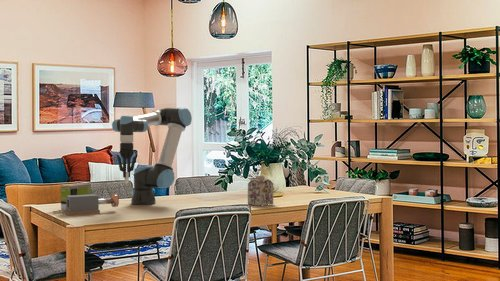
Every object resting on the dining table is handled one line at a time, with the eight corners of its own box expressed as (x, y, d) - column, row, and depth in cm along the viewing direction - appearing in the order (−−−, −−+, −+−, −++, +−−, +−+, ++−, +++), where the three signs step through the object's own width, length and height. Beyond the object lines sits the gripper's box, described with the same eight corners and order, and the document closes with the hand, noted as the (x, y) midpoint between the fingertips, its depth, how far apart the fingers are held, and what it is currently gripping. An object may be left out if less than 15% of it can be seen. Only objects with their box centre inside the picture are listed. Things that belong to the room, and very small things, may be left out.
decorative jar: (273, 204, 418) (273, 175, 417) (261, 206, 409) (261, 177, 409) (259, 203, 426) (259, 174, 425) (246, 204, 417) (247, 175, 417)
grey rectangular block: (114, 206, 390) (114, 194, 390) (118, 207, 384) (118, 195, 384) (78, 208, 380) (78, 195, 379) (82, 209, 374) (82, 197, 373)
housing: (93, 211, 386) (93, 193, 386) (99, 213, 376) (99, 195, 376) (63, 213, 378) (63, 195, 378) (69, 215, 368) (69, 197, 367)
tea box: (81, 207, 405) (81, 182, 404) (92, 208, 398) (91, 183, 398) (60, 209, 393) (60, 184, 392) (70, 211, 387) (70, 185, 386)
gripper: (135, 142, 395) (135, 182, 396) (113, 142, 389) (113, 183, 389) (139, 142, 389) (139, 183, 389) (117, 142, 382) (117, 184, 383)
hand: (126, 183), depth 389 cm, fingers closed
